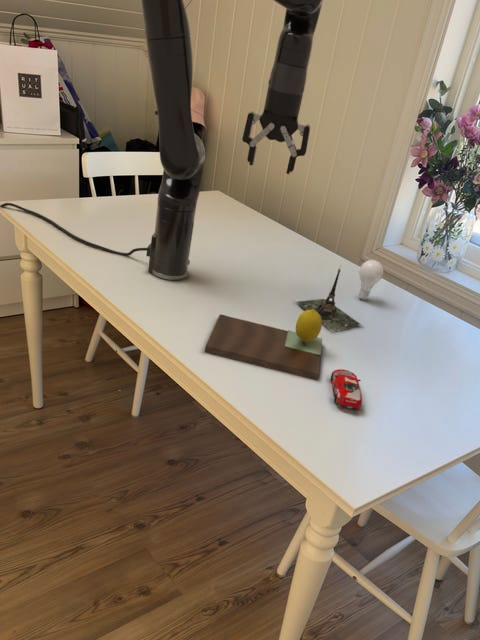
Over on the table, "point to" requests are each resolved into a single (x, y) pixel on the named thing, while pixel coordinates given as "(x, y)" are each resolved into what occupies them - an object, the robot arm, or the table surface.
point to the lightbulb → (369, 277)
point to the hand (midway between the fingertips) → (269, 168)
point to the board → (265, 346)
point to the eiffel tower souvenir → (330, 311)
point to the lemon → (308, 325)
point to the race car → (346, 389)
